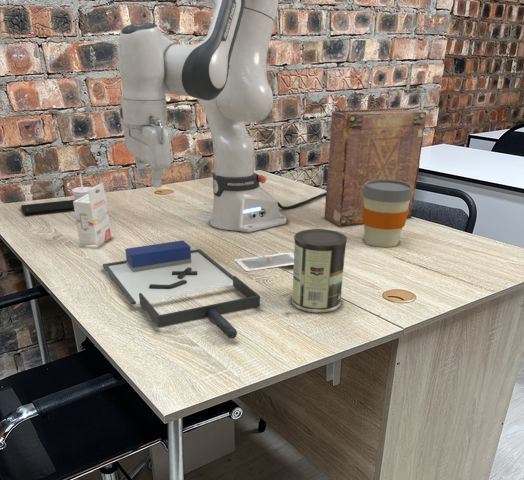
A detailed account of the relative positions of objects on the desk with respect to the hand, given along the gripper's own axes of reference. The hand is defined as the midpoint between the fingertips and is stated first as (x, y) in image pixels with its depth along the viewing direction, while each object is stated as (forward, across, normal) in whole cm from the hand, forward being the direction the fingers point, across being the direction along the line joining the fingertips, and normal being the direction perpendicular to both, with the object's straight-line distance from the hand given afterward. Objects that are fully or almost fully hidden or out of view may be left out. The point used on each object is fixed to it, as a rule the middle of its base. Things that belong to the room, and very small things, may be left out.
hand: (149, 182), depth 122 cm
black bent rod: (+18, -15, +2) cm, 24 cm away
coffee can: (+20, -33, -24) cm, 45 cm away
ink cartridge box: (+20, +23, +9) cm, 31 cm away
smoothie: (+20, +40, +7) cm, 45 cm away
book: (+19, +11, -70) cm, 74 cm away
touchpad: (+19, -11, -24) cm, 33 cm away
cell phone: (+20, +59, +13) cm, 63 cm away
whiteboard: (+20, -9, 0) cm, 21 cm away
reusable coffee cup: (+19, -8, -60) cm, 64 cm away
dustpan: (+20, -31, -1) cm, 37 cm away
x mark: (+18, -10, -4) cm, 21 cm away
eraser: (+18, -2, 0) cm, 18 cm away
